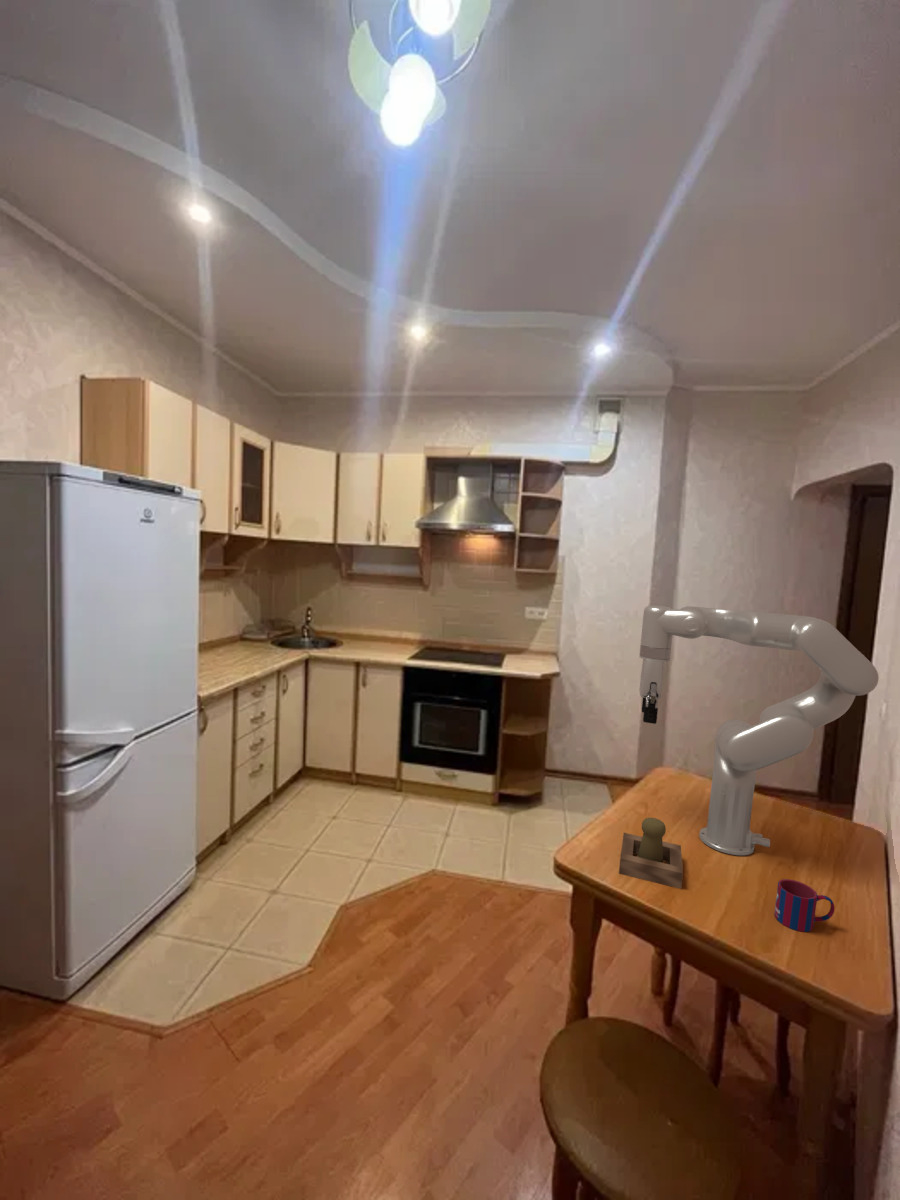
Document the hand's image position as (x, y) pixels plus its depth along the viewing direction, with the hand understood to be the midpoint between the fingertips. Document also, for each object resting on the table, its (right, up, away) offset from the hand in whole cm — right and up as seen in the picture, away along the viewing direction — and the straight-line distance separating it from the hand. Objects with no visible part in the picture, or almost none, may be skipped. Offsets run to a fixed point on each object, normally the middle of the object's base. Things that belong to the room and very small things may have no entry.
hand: (648, 717), depth 148 cm
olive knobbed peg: (-6, -31, -18) cm, 36 cm away
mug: (+18, -34, -35) cm, 52 cm away
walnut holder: (-6, -31, -18) cm, 36 cm away
